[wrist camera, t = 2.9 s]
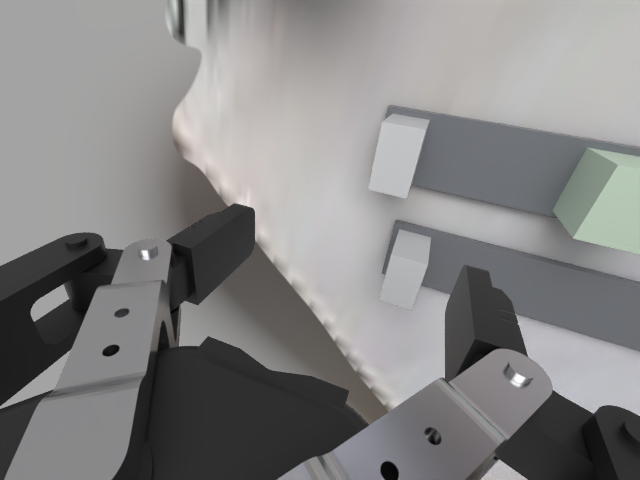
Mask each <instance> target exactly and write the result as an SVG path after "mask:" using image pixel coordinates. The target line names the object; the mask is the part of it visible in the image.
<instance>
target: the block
mask: <svg viewBox="0 0 640 480" xmlns="http://www.w3.org/2000/svg"><path fill="white" fill-rule="evenodd" d="M552 211H553V212H554V214H555V215H556V216H557V218H558V219H559V220H560V222H561V223H562V225H563V226H564V227H565V229H566V230H567V231H568V233H569V234H570V236H571V237H572V238H573V239H577V240H581V241H585V242H589V243H593V244H597V245H602V246H606V247H610V248H614V249H618V250H623V251H627V252H631V253H635V254H639V255H640V157H639V156H633V155H627V154H622V153H616V152H610V151H604V150H599V149H593V148H586V150H585V152H584V154H583V156H582V157H581V159H580V161H579V163H578V165H577V167H576V168H575V170H574V172H573V174H572V176H571V177H570V179H569V181H568V183H567V185H566V187H565V188H564V190H563V192H562V194H561V196H560V197H559V199H558V201H557V203H556V205H555V207H554V208H553V210H552Z"/></svg>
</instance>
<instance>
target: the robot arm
mask: <svg viewBox="0 0 640 480" xmlns="http://www.w3.org/2000/svg"><path fill="white" fill-rule="evenodd" d="M254 244H255V211H254V209H253V208H251V207H247V206H244V205H240V204H236V203H235V204H232V205H231V206H229V207H227V208H226V209H224V210H223V211H221V212H217V213H214V214H210V215H207V216H206V217H204V218H203V219H201V220H199V222H196V223H194V224H193V225H191V227H188V228H186V229H185V230H183V231H181V232H180V233H178V234H176V235H175V236H173V237H171V238H170V239H168V240H167V241H164V240H160V239H146V240H141V241H138V242H135V243H133V244H131V245H129V246H128V247H126V248H125V249H124V250H118V249H106V248H105V245H104V241H103V238H102V237H101V236H100V235H98V234H95V233H76V234H71V235H67V236H64V237H61V238H59V239H57V240H55V241H53V242H51V243H48V244H46V245H44V246H42V247H40V248H38V249H36V250H34V251H32V252H29V253H28V254H25V255H23V256H21V257H19V258H17V259H15V260H13V261H10V262H8V263H6V264H4V265H2V266H0V406H1V405H2V404H3V403H5V402H6V401H7V400H8V399H10V398H11V397H12V396H13V395H15V394H16V393H17V392H18V391H20V390H21V389H22V388H23V387H25V386H26V385H27V384H28V383H30V382H31V381H32V380H33V379H35V378H36V377H37V376H38V375H39V374H41V373H42V372H43V371H44V370H46V369H47V368H48V367H49V366H51V365H52V364H53V363H54V362H56V361H57V360H58V359H60V357H62V356H63V355H64V354H66V353H67V352H68V351H69V350H71V352H70V354H69V356H68V359H67V361H66V363H65V366H64V368H63V371H62V373H61V375H60V378H59V380H58V383H57V385H56V387H55V389H54V390H51V391H48V392H45V393H43V394H40V395H37V396H35V397H32V398H29V399H26V400H24V401H21V402H18V403H16V404H13V405H10V406H8V407H5V408H2V409H0V480H480V479H481V478H482V477H483V476H484V475H485V474H486V473H487V472H488V471H489V470H490V469H491V468H492V467H493V465H494V464H495V463H496V462H497V461H498V460H499V459H500V460H501V461H503V462H504V463H505V464H507V465H508V466H510V467H511V468H513V469H514V470H515V471H517V472H518V473H520V474H521V475H522V476H524V477H525V478H527V479H528V480H640V416H638V415H636V414H634V413H633V412H631V411H628V410H626V409H623V408H620V407H617V406H611V405H606V406H602V407H600V408H599V409H598V410H597V411H596V412H595V413H594V414H593V413H591V412H589V411H587V410H586V409H584V408H582V407H580V406H579V405H577V404H575V403H573V402H571V401H570V400H568V399H566V398H564V397H563V396H561V395H559V394H558V393H556V392H555V391H554V390H553V387H552V383H551V380H550V378H549V377H548V375H547V374H546V372H545V371H544V370H543V369H542V368H541V367H540V366H539V365H538V364H537V363H536V362H534V361H533V360H532V359H530V358H529V357H528V355H527V352H526V348H525V345H524V341H523V338H522V335H521V331H520V328H519V325H517V324H518V321H517V318H516V315H515V311H514V307H513V304H512V301H511V300H510V299H509V298H508V296H507V295H506V294H505V293H504V292H503V290H501V289H498V288H494V287H492V282H491V278H490V273H489V271H487V270H484V269H480V268H476V267H472V266H468V265H464V266H463V268H462V269H461V272H460V274H459V276H458V279H457V281H456V284H455V286H454V288H453V291H452V293H451V295H450V298H449V300H448V303H447V307H446V312H445V379H444V378H439V379H437V380H435V381H434V382H432V383H431V384H429V385H428V386H426V387H425V388H423V389H422V390H421V391H419V392H418V393H416V394H415V395H413V396H412V397H410V398H409V399H407V400H406V401H404V402H403V403H401V404H400V405H399V406H397V407H396V408H394V409H393V410H391V411H390V412H388V413H387V414H385V415H384V416H382V417H381V418H379V419H378V420H377V421H375V422H374V423H372V424H371V425H369V424H368V423H367V422H366V421H365V420H364V419H363V418H362V416H361V415H359V414H358V413H357V412H356V411H355V410H354V409H353V408H351V407H350V406H349V405H347V404H346V401H347V397H348V393H349V391H348V390H346V389H343V388H341V387H338V386H335V385H332V384H330V383H328V382H325V381H322V380H320V379H317V378H315V377H312V376H306V375H299V374H292V373H284V372H277V371H272V370H269V369H267V368H265V367H264V366H263V365H262V364H260V363H259V362H257V361H256V360H255V359H253V358H252V357H251V356H249V355H248V354H247V353H245V352H244V351H242V350H241V349H240V348H237V347H234V346H232V345H229V344H227V343H224V342H222V341H219V340H216V339H214V338H211V337H209V336H208V337H207V338H206V339H205V341H204V342H203V343H202V344H201V345H200V346H181V347H179V336H180V322H181V305H180V304H181V303H183V301H188V302H190V303H193V304H196V305H199V303H201V302H202V301H203V300H204V299H205V298H206V297H207V296H208V295H209V294H210V293H211V292H212V291H213V290H214V289H215V288H216V287H217V286H219V285H220V284H221V283H222V282H223V281H224V280H225V279H226V278H227V277H228V276H229V275H230V274H231V273H232V272H233V271H234V270H235V269H236V268H237V267H238V266H240V264H242V263H243V262H244V261H245V260H246V259H247V258H248V257H249V256H250V255H251V253H252V251H253V248H254ZM62 284H64V286H65V289H66V292H67V294H68V297H69V300H67V301H66V302H64V303H63V304H61V305H59V306H58V307H57V308H55V309H53V310H52V311H50V312H49V313H47V314H46V315H44V316H43V317H41V318H40V319H38V320H37V321H35V322H33V320H32V317H31V315H30V311H31V308H32V306H33V304H34V303H35V302H36V301H37V300H38V299H39V298H41V297H43V296H44V295H46V294H48V293H49V292H51V291H52V290H54V289H56V288H57V287H59V286H61V285H62Z"/></svg>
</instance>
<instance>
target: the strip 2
mask: <svg viewBox="0 0 640 480" xmlns="http://www.w3.org/2000/svg"><path fill="white" fill-rule="evenodd" d="M464 265H468V266H472V267H476V268H480V269H484V270H487V271H489V273H490V278H491V282H492V287H494V288H498V289H501V290H503V292H504V293H505V294H506V295H507V296H508V298H509V299H510V300H511V301H512V304H513V307H514V311H515V314H518V315H522V316H525V317H528V318H532V319H535V320H538V321H542V322H545V323H548V324H551V325H555V326H558V327H561V328H565V329H568V330H571V331H575V332H578V333H581V334H585V335H588V336H591V337H594V338H598V339H601V340H604V341H608V342H611V343H614V344H618V345H621V346H624V347H628V348H631V349H634V350H638V351H640V282H636V281H632V280H628V279H624V278H621V277H617V276H613V275H609V274H605V273H601V272H597V271H593V270H590V269H586V268H582V267H578V266H574V265H570V264H566V263H562V262H558V261H555V260H551V259H547V258H543V257H539V256H535V255H531V254H527V253H523V252H520V251H516V250H512V249H508V248H504V247H500V246H496V245H492V244H488V243H485V242H481V241H477V240H473V239H469V238H465V237H461V236H457V235H453V234H450V233H446V232H442V231H438V230H434V229H430V228H426V227H422V226H418V225H415V224H411V223H407V222H403V221H399V220H396V223H395V226H394V230H393V234H392V238H391V241H390V245H389V249H388V252H387V256H386V260H385V263H384V267H383V271H382V273H383V274H386V275H385V278H384V282H383V286H382V289H381V293H380V296H379V300H380V301H383V302H387V303H390V304H393V305H396V306H399V307H402V308H405V309H408V310H411V311H412V308H413V305H414V302H415V300H416V297H417V294H418V291H419V289H420V286H421V285H422V286H426V287H429V288H432V289H436V290H439V291H442V292H446V293H449V294H451V293H452V291H453V288H454V286H455V284H456V281H457V279H458V276H459V274H460V272H461V269H462V268H463V266H464Z"/></svg>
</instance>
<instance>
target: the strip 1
mask: <svg viewBox="0 0 640 480" xmlns="http://www.w3.org/2000/svg"><path fill="white" fill-rule="evenodd" d="M586 148H593V149H599V150H604V151H610V152H616V153H622V154H627V155H633V156H639V157H640V147H635V146H629V145H623V144H618V143H612V142H606V141H600V140H594V139H588V138H582V137H576V136H570V135H564V134H558V133H552V132H547V131H541V130H535V129H529V128H523V127H517V126H511V125H505V124H499V123H493V122H487V121H481V120H476V119H470V118H464V117H458V116H452V115H446V114H440V113H434V112H428V111H422V110H416V109H410V108H404V107H399V106H393V105H389V106H388V109H387V114H386V119H385V120H384V121H382V124H381V128H380V133H379V138H378V143H377V148H376V153H375V157H374V162H373V167H372V172H371V177H370V182H369V186H368V190H372V191H376V192H380V193H384V194H388V195H393V196H397V197H401V198H405V199H407V197H408V194H409V191H410V188H411V185H414V186H419V187H423V188H427V189H432V190H436V191H441V192H445V193H449V194H454V195H458V196H463V197H467V198H471V199H476V200H480V201H484V202H489V203H493V204H498V205H502V206H506V207H511V208H515V209H520V210H524V211H528V212H533V213H537V214H542V215H546V216H550V217H555V218H557V216H556V215H555V214H554V212H553V211H552V210H553V208H554V207H555V205H556V203H557V201H558V199H559V197H560V196H561V194H562V192H563V190H564V188H565V187H566V185H567V183H568V181H569V179H570V177H571V176H572V174H573V172H574V170H575V168H576V167H577V165H578V163H579V161H580V159H581V157H582V156H583V154H584V152H585V150H586Z"/></svg>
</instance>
